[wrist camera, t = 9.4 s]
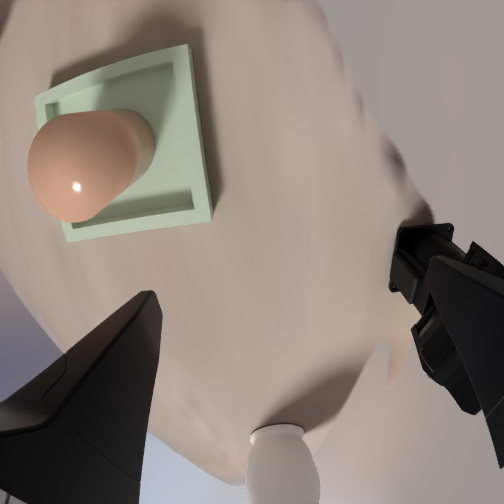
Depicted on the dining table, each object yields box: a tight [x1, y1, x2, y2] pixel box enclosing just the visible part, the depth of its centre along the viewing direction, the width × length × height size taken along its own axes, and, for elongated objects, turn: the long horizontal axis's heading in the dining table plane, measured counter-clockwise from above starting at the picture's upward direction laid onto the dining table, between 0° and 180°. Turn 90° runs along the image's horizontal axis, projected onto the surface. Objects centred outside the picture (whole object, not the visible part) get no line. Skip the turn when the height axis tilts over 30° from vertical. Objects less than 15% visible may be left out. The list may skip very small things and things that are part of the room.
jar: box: [245, 424, 320, 504], centre depth 31 cm, size 11×10×15 cm
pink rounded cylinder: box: [28, 109, 156, 223], centre depth 14 cm, size 6×6×7 cm
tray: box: [34, 44, 214, 243], centre depth 17 cm, size 12×12×2 cm
